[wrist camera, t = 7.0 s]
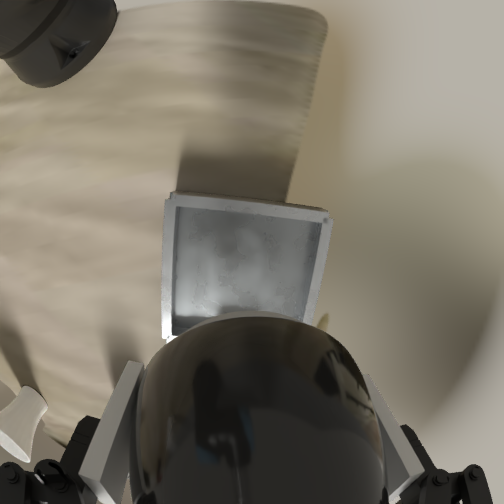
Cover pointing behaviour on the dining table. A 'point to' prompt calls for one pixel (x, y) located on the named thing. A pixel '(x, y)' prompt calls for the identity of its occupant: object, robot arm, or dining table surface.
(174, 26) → the dining table surface
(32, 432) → the cup
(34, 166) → the dining table surface
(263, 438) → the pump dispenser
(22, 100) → the dining table surface
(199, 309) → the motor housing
